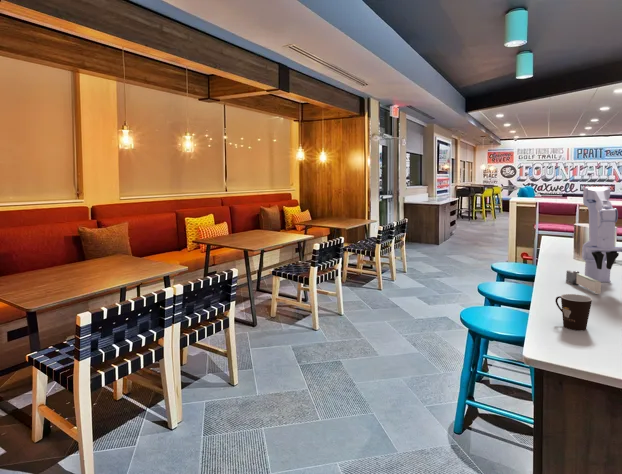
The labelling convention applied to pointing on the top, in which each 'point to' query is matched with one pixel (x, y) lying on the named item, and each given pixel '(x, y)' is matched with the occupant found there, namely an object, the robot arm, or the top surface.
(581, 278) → the gate
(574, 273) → the gate post
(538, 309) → the top surface
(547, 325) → the top surface
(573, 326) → the coffee mug
